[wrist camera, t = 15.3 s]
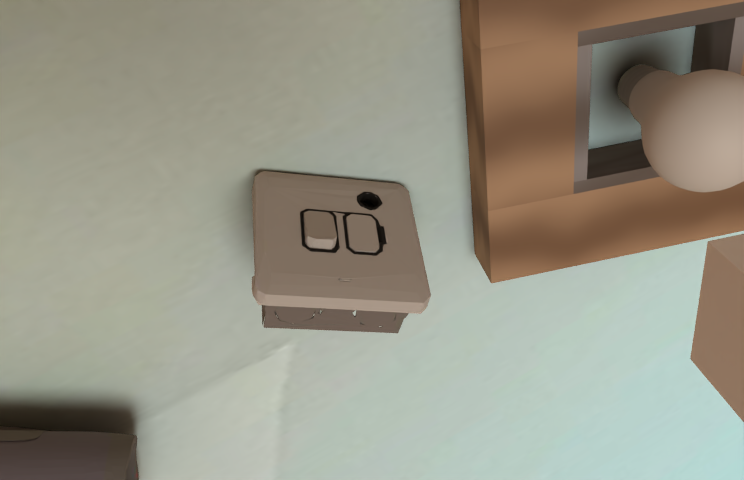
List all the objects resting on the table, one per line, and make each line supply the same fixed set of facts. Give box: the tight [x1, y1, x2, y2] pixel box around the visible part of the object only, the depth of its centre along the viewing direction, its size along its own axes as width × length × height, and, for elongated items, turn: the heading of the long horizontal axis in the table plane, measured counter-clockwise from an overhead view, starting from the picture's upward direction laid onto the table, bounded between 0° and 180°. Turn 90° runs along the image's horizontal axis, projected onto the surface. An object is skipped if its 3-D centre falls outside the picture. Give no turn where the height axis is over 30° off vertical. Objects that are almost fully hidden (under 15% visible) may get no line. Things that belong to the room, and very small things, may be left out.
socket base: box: [460, 0, 744, 283], centre depth 41 cm, size 20×20×4 cm
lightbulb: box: [617, 64, 744, 192], centre depth 38 cm, size 6×6×11 cm
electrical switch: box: [252, 171, 431, 333], centre depth 40 cm, size 9×5×9 cm, turn 79°
